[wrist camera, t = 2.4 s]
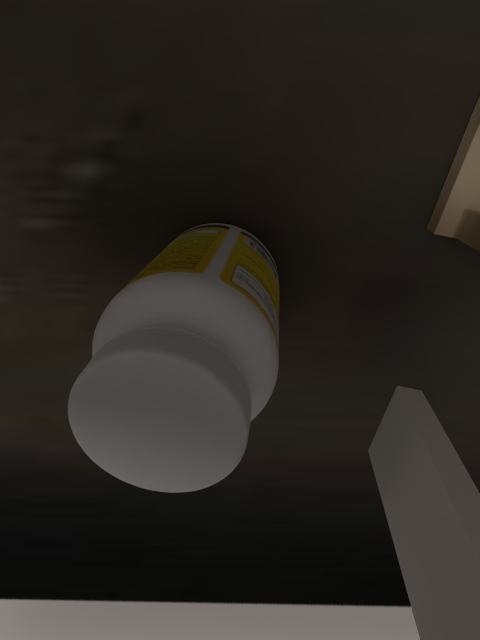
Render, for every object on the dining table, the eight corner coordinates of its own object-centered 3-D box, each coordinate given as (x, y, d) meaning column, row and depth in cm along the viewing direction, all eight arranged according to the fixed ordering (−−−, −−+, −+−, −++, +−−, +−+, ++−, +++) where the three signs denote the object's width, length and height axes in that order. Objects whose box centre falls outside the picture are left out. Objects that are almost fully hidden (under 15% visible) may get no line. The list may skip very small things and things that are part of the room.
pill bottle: (151, 312, 20) (28, 474, 10) (176, 202, 18) (41, 282, 8) (257, 347, 21) (234, 537, 11) (298, 245, 18) (318, 374, 8)
